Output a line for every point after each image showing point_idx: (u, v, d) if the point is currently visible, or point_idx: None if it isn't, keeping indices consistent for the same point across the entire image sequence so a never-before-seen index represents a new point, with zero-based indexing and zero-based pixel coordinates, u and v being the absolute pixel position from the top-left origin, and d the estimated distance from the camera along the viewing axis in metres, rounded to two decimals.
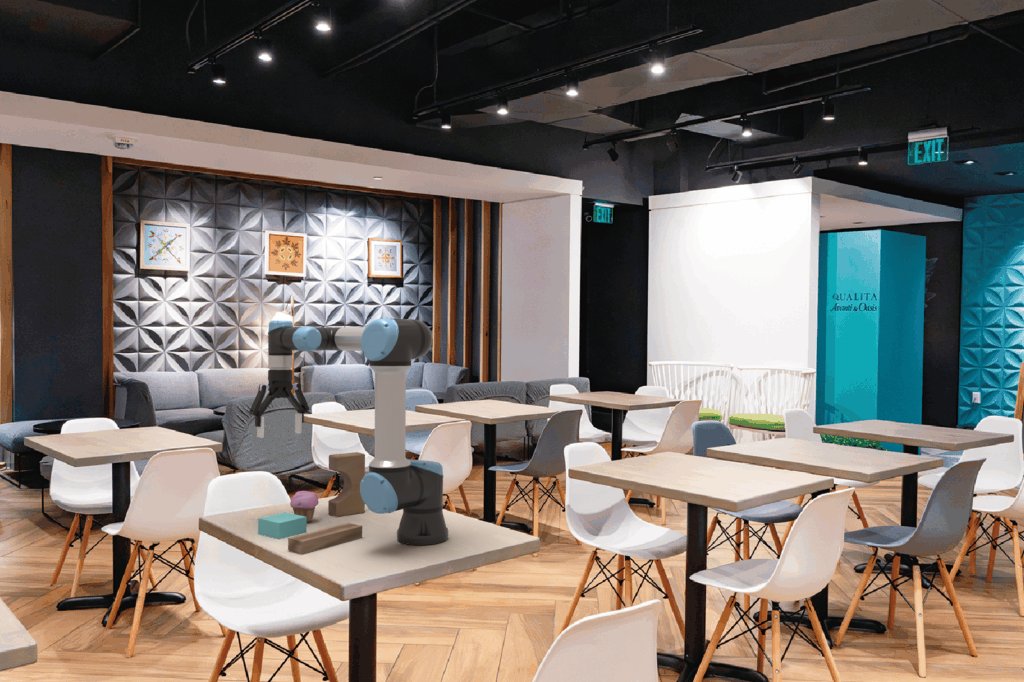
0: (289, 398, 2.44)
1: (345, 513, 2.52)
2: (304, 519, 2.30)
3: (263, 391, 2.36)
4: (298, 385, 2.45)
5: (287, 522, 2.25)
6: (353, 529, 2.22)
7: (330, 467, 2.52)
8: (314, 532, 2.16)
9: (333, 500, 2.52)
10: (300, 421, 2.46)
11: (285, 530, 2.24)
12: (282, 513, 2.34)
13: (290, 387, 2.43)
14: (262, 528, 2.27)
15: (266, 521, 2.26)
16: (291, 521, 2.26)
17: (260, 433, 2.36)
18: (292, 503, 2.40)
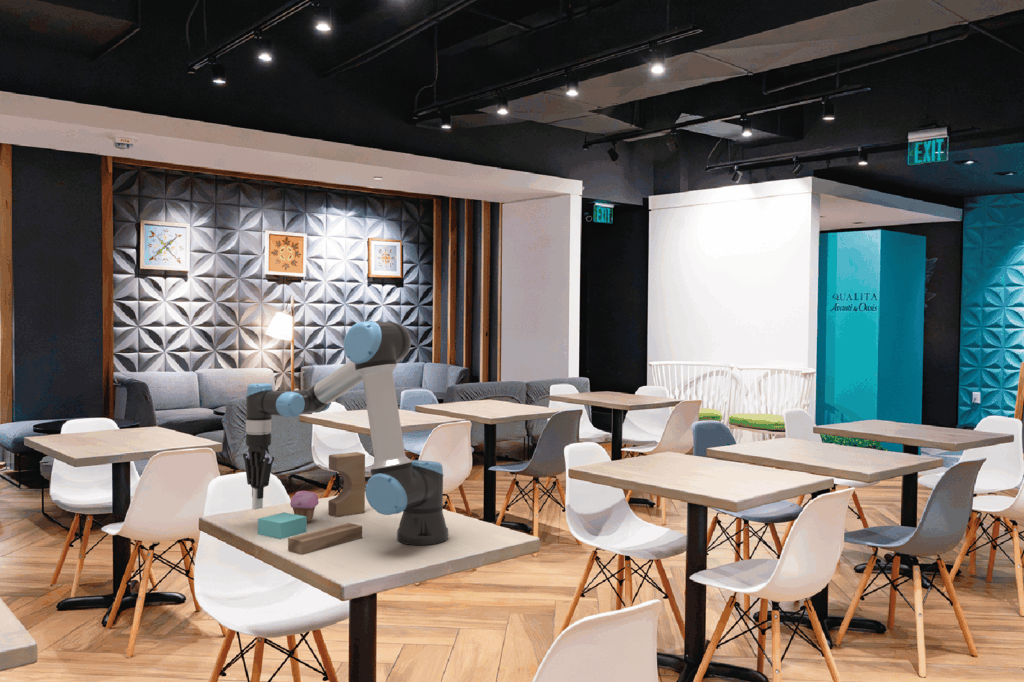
0: None
1: (345, 513, 2.52)
2: (304, 519, 2.30)
3: (245, 460, 2.38)
4: (265, 459, 2.32)
5: (288, 522, 2.25)
6: (353, 529, 2.22)
7: (330, 467, 2.52)
8: (314, 532, 2.16)
9: (333, 500, 2.52)
10: (254, 496, 2.35)
11: (286, 530, 2.24)
12: (281, 513, 2.34)
13: (261, 453, 2.33)
14: (263, 529, 2.26)
15: (267, 521, 2.25)
16: (292, 521, 2.26)
17: None
18: (292, 503, 2.40)
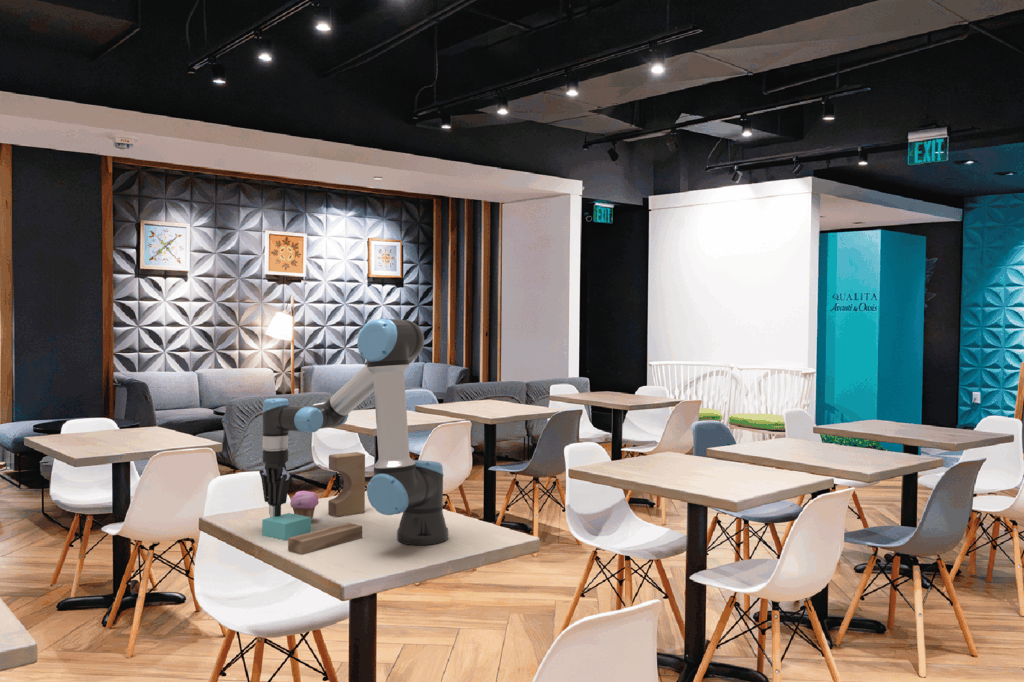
0: None
1: (345, 513, 2.52)
2: (309, 519, 2.29)
3: (261, 476, 2.33)
4: (283, 476, 2.27)
5: (292, 523, 2.23)
6: (353, 529, 2.22)
7: (330, 467, 2.52)
8: (314, 532, 2.16)
9: (333, 500, 2.52)
10: (272, 514, 2.30)
11: (291, 531, 2.23)
12: (285, 514, 2.33)
13: (278, 470, 2.29)
14: (267, 530, 2.25)
15: (271, 522, 2.24)
16: (296, 522, 2.25)
17: None
18: (292, 503, 2.40)
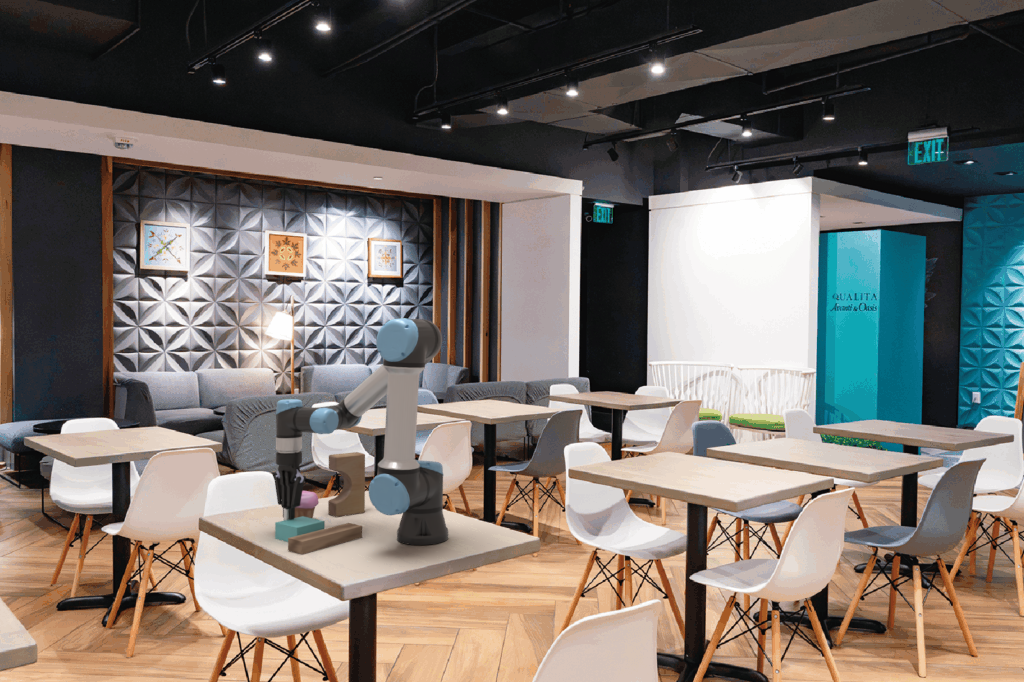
0: None
1: (345, 513, 2.52)
2: (322, 523, 2.24)
3: (275, 479, 2.29)
4: (297, 478, 2.23)
5: (305, 527, 2.19)
6: (353, 529, 2.22)
7: (330, 467, 2.52)
8: (314, 532, 2.16)
9: (333, 500, 2.52)
10: (285, 517, 2.26)
11: None
12: (299, 517, 2.29)
13: (292, 472, 2.25)
14: (280, 533, 2.21)
15: (283, 525, 2.20)
16: (309, 525, 2.20)
17: None
18: None
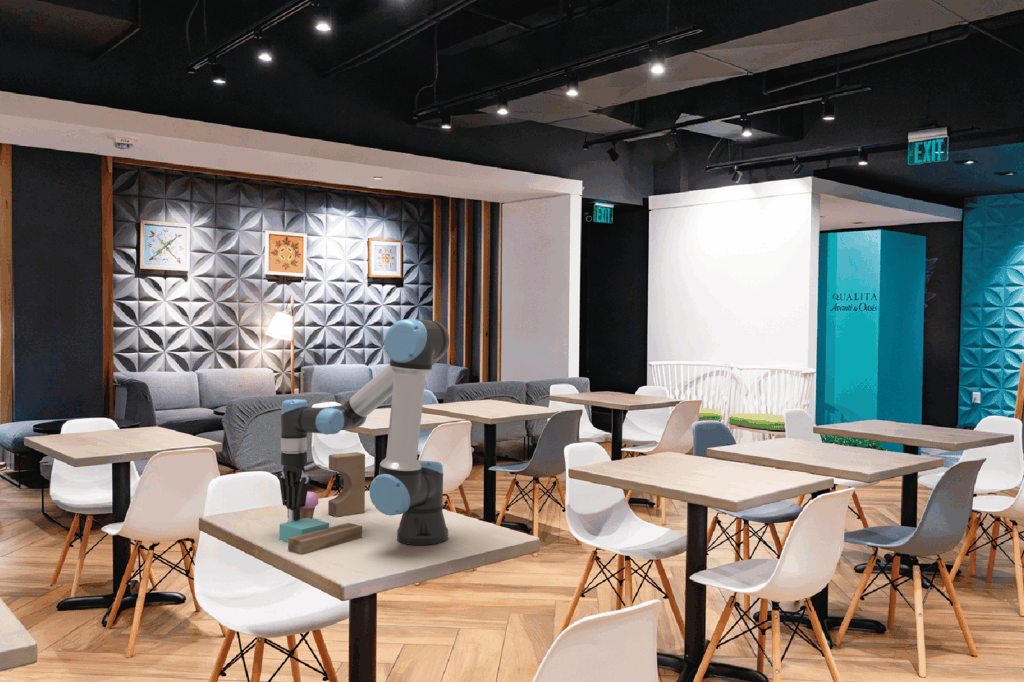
0: None
1: (345, 513, 2.52)
2: (327, 525, 2.23)
3: (279, 479, 2.28)
4: (302, 479, 2.22)
5: (310, 528, 2.18)
6: (353, 529, 2.22)
7: (330, 467, 2.52)
8: (314, 532, 2.16)
9: (333, 500, 2.52)
10: (290, 518, 2.25)
11: None
12: (304, 519, 2.27)
13: (297, 473, 2.23)
14: (284, 535, 2.20)
15: (288, 527, 2.19)
16: (314, 527, 2.19)
17: None
18: None
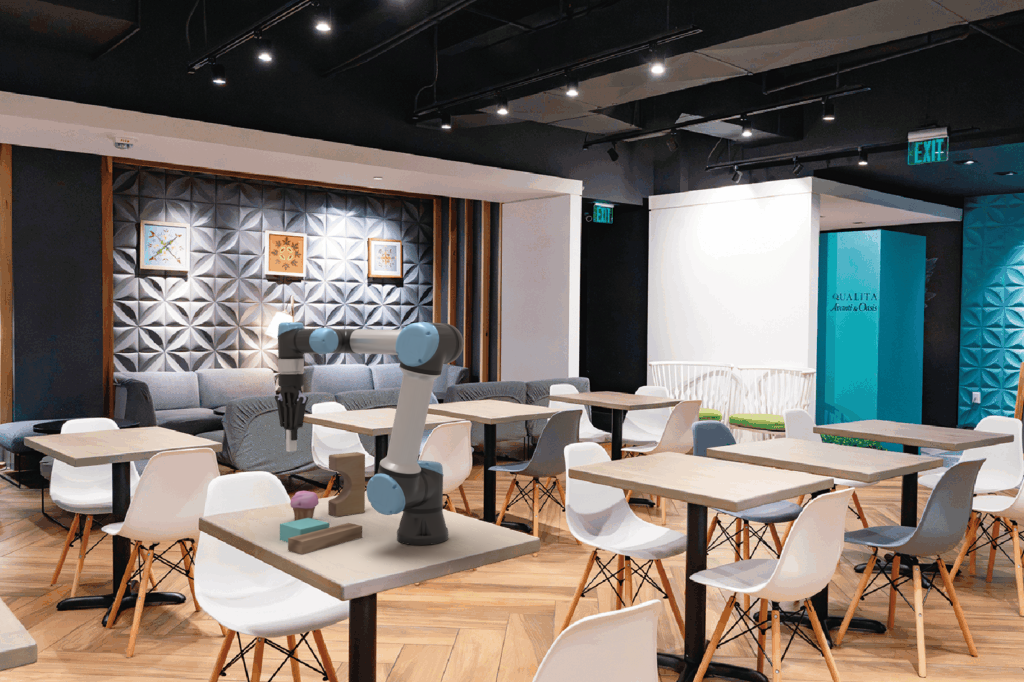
0: None
1: (345, 513, 2.52)
2: (327, 525, 2.22)
3: (277, 402, 2.32)
4: (299, 398, 2.26)
5: (309, 528, 2.17)
6: (353, 529, 2.22)
7: (330, 467, 2.52)
8: (314, 532, 2.16)
9: (333, 500, 2.52)
10: (288, 438, 2.28)
11: None
12: (305, 518, 2.28)
13: (294, 393, 2.27)
14: (284, 534, 2.20)
15: (287, 527, 2.19)
16: (313, 527, 2.18)
17: None
18: (292, 503, 2.40)
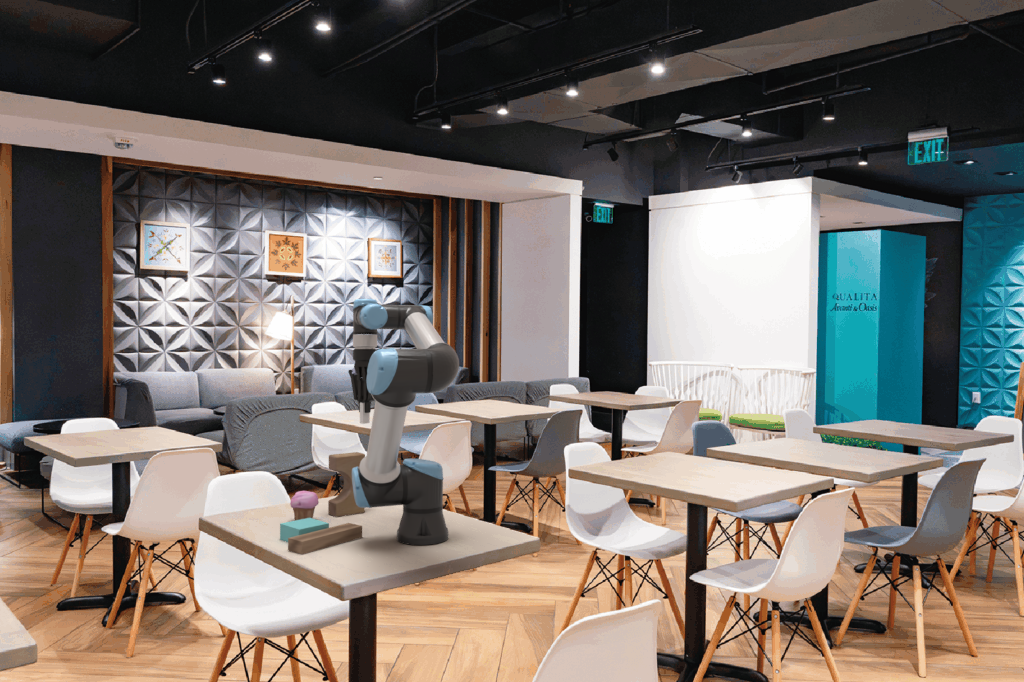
0: None
1: (345, 513, 2.52)
2: (326, 525, 2.22)
3: (351, 376, 2.40)
4: None
5: (308, 528, 2.17)
6: (353, 529, 2.22)
7: (330, 467, 2.52)
8: (314, 532, 2.16)
9: (333, 500, 2.52)
10: (362, 410, 2.37)
11: None
12: (306, 518, 2.28)
13: None
14: (284, 534, 2.20)
15: (287, 527, 2.19)
16: (312, 527, 2.18)
17: None
18: (292, 503, 2.40)
